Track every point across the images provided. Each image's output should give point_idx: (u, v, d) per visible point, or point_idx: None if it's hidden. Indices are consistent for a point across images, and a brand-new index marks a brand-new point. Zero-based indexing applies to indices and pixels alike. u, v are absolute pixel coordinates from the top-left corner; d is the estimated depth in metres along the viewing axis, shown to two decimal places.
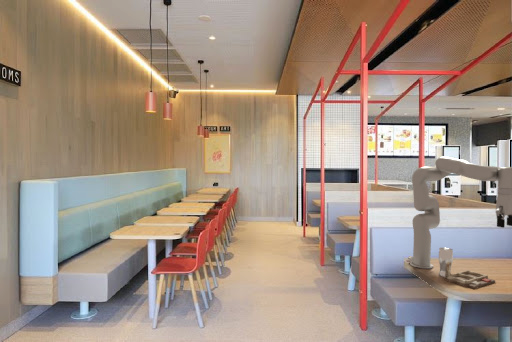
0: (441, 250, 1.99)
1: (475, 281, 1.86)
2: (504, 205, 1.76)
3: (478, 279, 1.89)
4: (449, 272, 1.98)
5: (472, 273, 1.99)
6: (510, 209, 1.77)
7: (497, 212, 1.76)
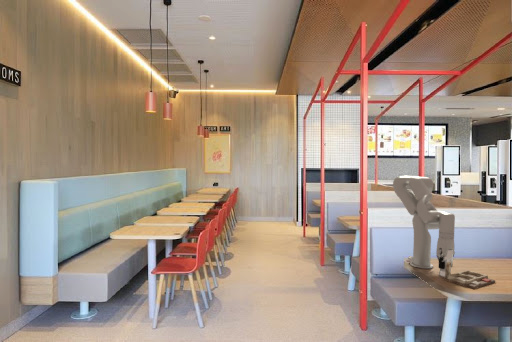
0: None
1: (475, 281, 1.86)
2: (443, 247, 1.96)
3: (478, 279, 1.89)
4: (449, 272, 1.98)
5: (472, 273, 1.99)
6: None
7: (437, 256, 1.96)
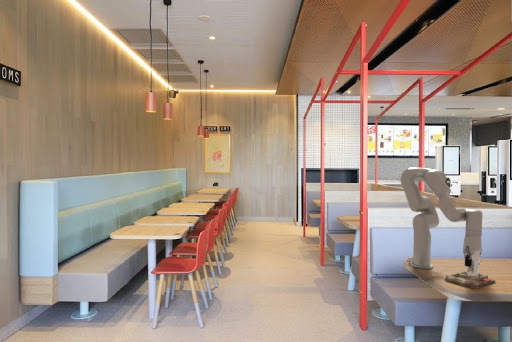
0: None
1: (475, 281, 1.86)
2: (470, 245, 1.91)
3: (478, 279, 1.89)
4: (476, 273, 1.93)
5: None
6: (476, 249, 1.92)
7: (464, 253, 1.91)
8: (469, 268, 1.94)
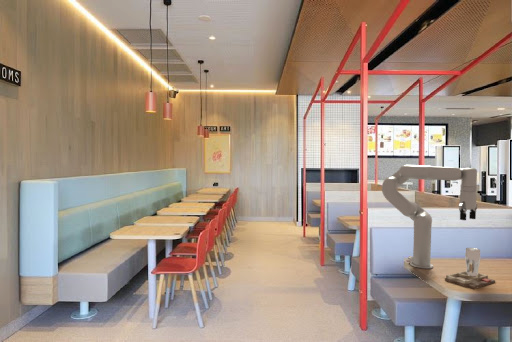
0: (468, 250, 1.94)
1: (475, 281, 1.86)
2: (466, 200, 2.04)
3: (478, 279, 1.89)
4: (476, 273, 1.93)
5: None
6: (471, 204, 2.05)
7: (459, 207, 2.03)
8: (469, 268, 1.94)
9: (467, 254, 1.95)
